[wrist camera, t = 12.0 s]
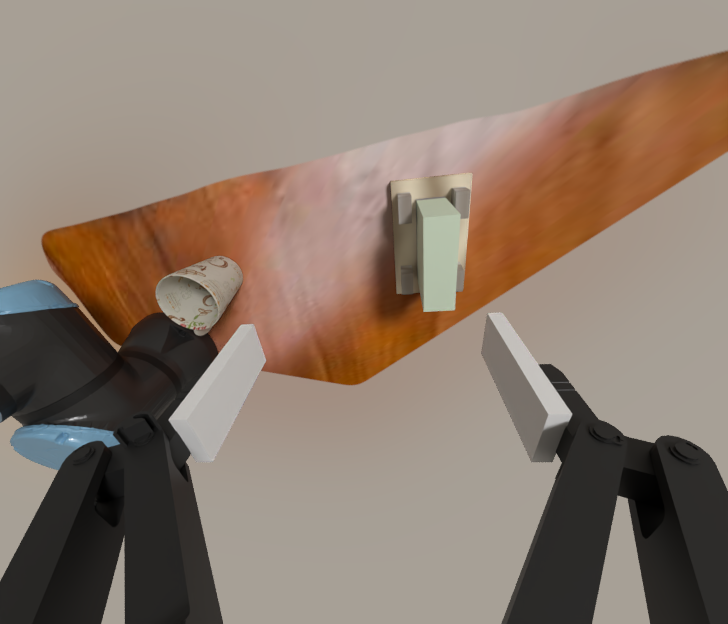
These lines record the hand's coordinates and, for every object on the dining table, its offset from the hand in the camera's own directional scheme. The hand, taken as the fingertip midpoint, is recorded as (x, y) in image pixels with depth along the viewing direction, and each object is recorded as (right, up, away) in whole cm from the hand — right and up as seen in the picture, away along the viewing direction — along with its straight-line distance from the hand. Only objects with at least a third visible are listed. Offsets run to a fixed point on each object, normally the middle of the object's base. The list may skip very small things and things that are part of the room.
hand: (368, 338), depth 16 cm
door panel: (+9, +11, +23) cm, 27 cm away
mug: (-23, +6, +31) cm, 39 cm away
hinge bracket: (+9, +12, +24) cm, 28 cm away
